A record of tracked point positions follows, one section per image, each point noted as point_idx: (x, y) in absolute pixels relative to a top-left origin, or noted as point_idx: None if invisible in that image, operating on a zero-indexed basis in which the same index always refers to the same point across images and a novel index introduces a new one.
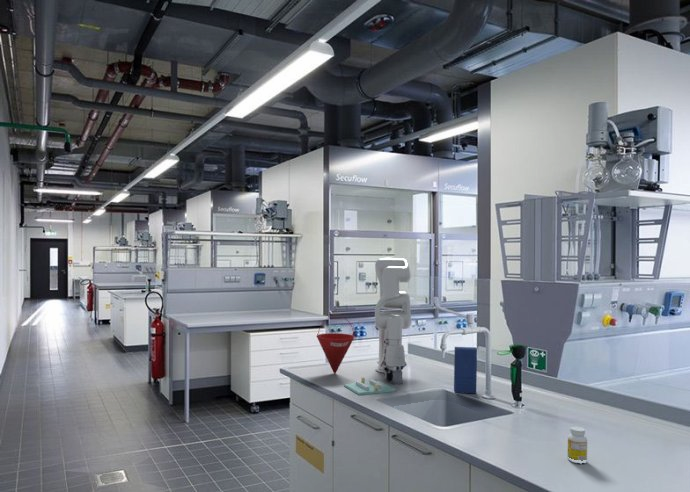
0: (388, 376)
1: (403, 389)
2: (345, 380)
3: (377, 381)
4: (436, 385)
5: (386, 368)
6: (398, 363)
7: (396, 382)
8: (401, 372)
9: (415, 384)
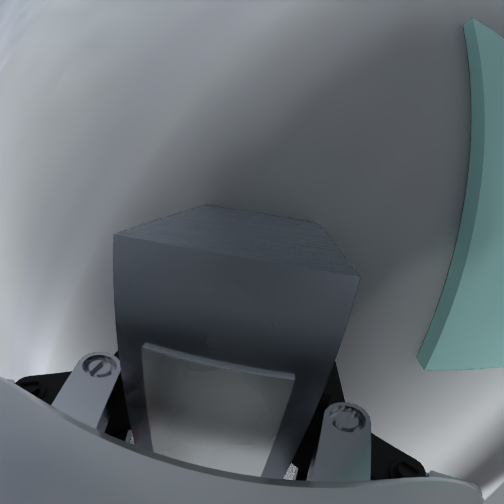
0: (332, 377)
1: (360, 9)
2: (478, 452)
3: (450, 354)
4: (18, 57)
5: (405, 474)
6: (65, 499)
7: (292, 221)
8: (149, 233)
9: (96, 118)
